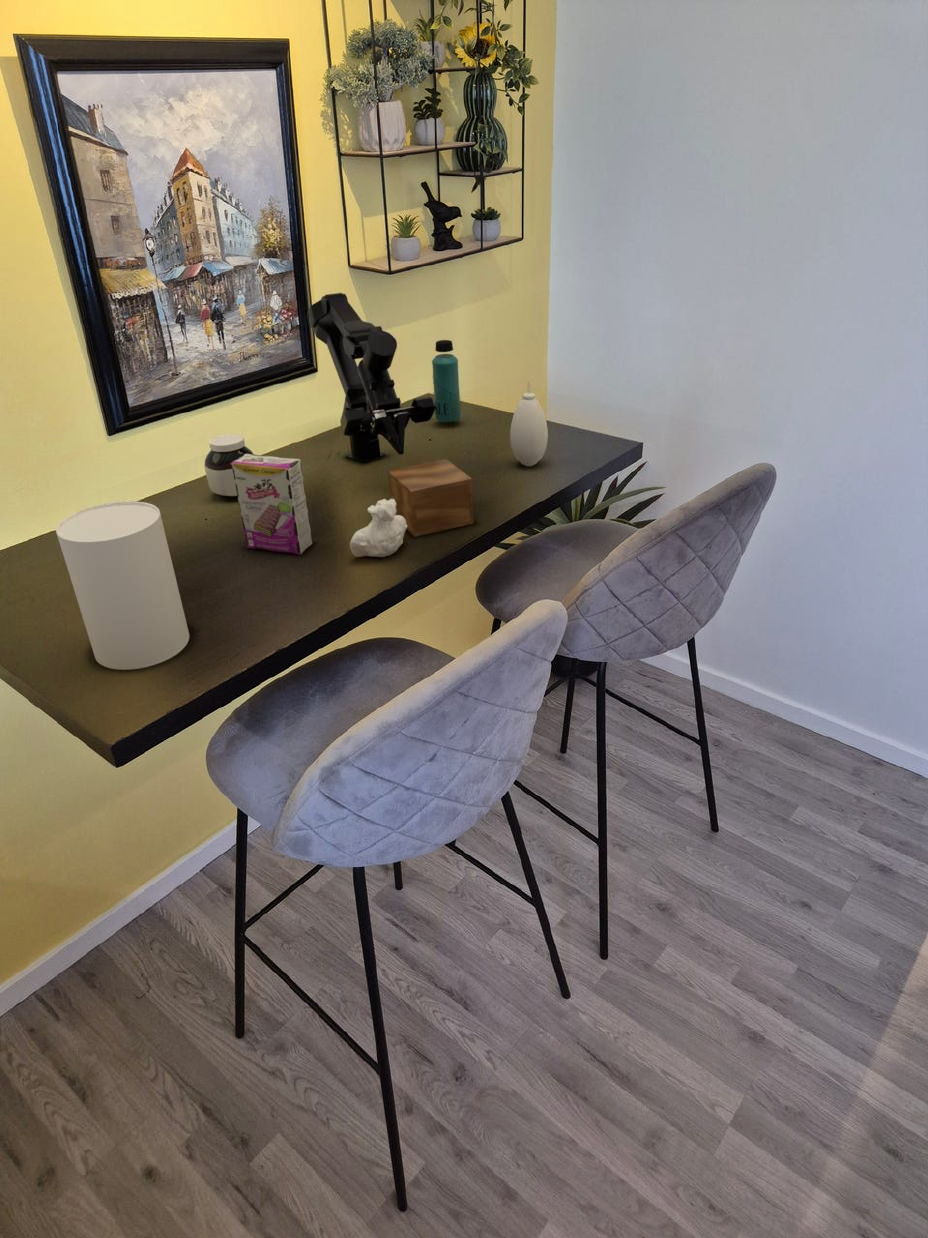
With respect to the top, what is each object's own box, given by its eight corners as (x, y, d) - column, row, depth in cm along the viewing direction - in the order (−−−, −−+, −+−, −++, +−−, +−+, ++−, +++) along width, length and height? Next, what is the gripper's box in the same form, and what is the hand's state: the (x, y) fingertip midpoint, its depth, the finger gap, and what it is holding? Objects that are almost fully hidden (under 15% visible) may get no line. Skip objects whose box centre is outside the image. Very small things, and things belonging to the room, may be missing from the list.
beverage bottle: (462, 419, 215) (459, 337, 205) (460, 428, 209) (456, 343, 199) (436, 419, 216) (432, 337, 205) (433, 428, 210) (428, 344, 200)
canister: (131, 616, 136) (98, 498, 126) (206, 626, 132) (179, 505, 122) (74, 663, 125) (33, 537, 115) (155, 675, 121) (120, 546, 111)
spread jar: (223, 506, 173) (212, 450, 167) (197, 491, 181) (186, 437, 175) (275, 489, 180) (266, 435, 174) (248, 475, 187) (239, 423, 181)
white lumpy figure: (358, 576, 149) (378, 540, 140) (333, 542, 151) (352, 504, 142) (409, 552, 156) (432, 517, 147) (386, 520, 158) (407, 483, 149)
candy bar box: (245, 549, 155) (229, 462, 147) (260, 537, 159) (244, 452, 151) (301, 556, 152) (287, 467, 144) (314, 544, 156) (301, 457, 148)
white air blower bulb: (553, 461, 187) (554, 378, 178) (536, 473, 181) (536, 388, 172) (522, 456, 191) (521, 374, 181) (504, 467, 185) (502, 383, 176)
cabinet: (391, 514, 166) (387, 470, 162) (448, 501, 170) (446, 458, 166) (414, 537, 157) (410, 491, 152) (473, 523, 161) (472, 478, 156)
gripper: (412, 398, 184) (435, 463, 181) (328, 412, 178) (350, 480, 175) (424, 369, 174) (448, 437, 171) (335, 383, 168) (358, 454, 165)
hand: (401, 453), depth 171 cm, fingers closed
